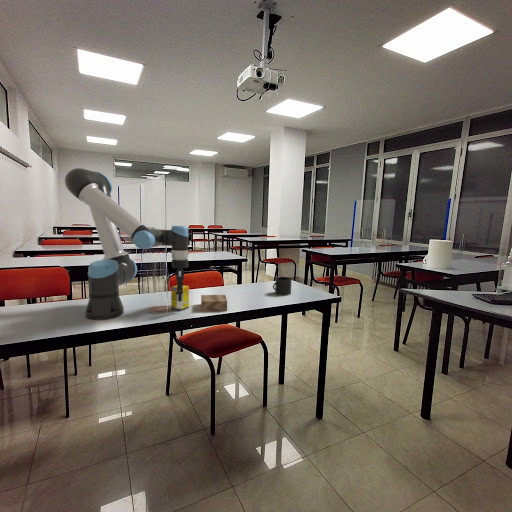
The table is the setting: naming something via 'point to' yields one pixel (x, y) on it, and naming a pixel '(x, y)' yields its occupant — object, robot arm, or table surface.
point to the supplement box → (185, 298)
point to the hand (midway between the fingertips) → (180, 303)
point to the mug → (282, 285)
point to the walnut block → (213, 303)
